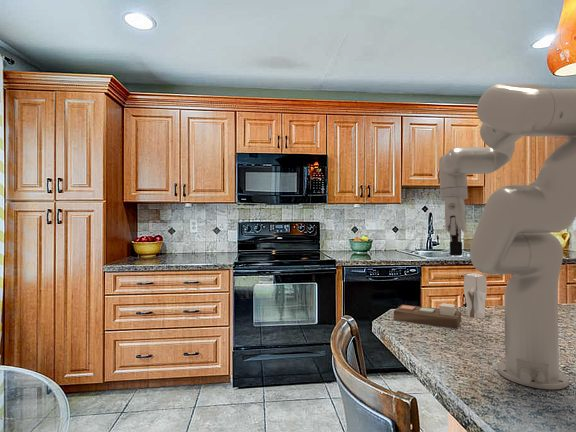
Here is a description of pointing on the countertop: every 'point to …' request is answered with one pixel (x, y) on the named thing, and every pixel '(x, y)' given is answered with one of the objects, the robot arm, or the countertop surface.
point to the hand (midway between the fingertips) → (456, 255)
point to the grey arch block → (475, 294)
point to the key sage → (427, 310)
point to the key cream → (447, 309)
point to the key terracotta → (407, 308)
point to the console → (428, 317)
